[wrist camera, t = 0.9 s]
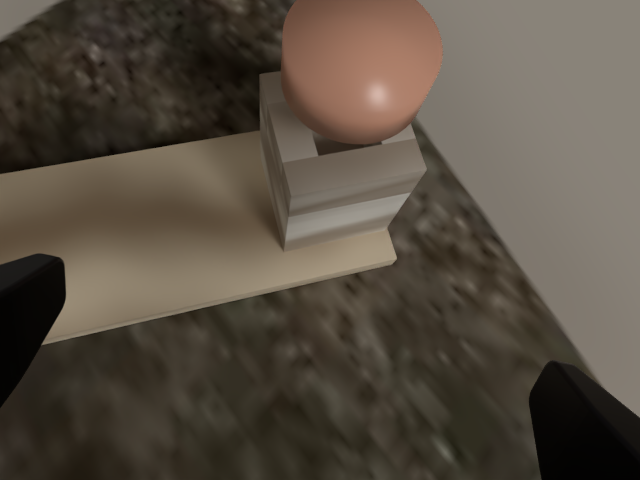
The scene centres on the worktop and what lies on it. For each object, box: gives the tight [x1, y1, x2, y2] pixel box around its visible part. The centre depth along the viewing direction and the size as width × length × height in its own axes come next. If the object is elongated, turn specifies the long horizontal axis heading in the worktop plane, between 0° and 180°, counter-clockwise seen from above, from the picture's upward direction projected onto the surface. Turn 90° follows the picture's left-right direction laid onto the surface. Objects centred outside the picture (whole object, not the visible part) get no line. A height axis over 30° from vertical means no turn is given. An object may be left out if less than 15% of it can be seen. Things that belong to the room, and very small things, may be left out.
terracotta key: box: [281, 0, 443, 144], centre depth 16 cm, size 5×5×3 cm
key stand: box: [0, 71, 427, 345], centre depth 20 cm, size 8×22×8 cm, turn 105°
